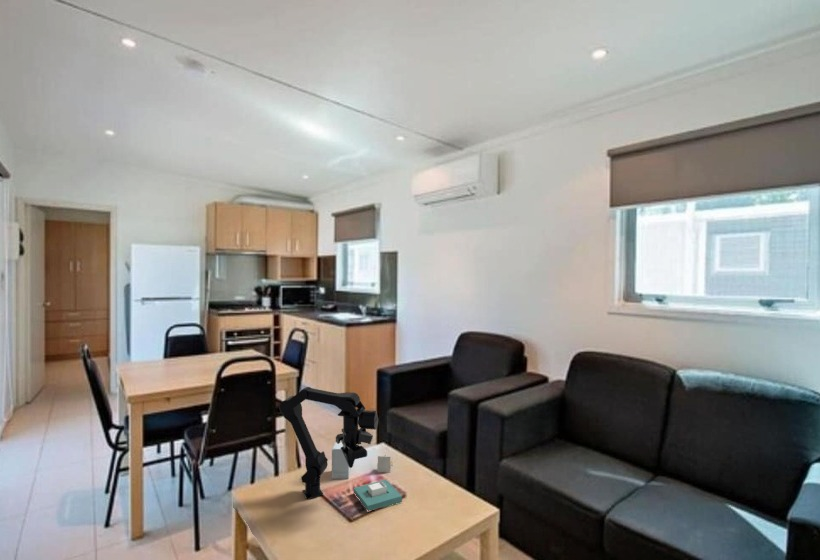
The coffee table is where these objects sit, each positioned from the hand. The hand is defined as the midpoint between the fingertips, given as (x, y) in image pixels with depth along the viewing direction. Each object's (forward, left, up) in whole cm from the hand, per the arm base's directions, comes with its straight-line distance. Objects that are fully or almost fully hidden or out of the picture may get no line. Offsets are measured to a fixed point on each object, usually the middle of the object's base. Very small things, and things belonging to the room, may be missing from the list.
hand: (350, 467), depth 160 cm
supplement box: (-19, +3, -12) cm, 23 cm away
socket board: (+5, +9, -12) cm, 16 cm away
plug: (+5, +9, -12) cm, 16 cm away
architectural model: (-13, +20, -13) cm, 27 cm away
